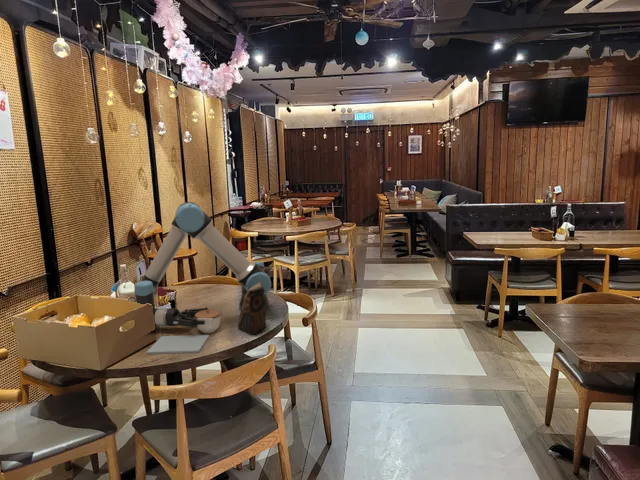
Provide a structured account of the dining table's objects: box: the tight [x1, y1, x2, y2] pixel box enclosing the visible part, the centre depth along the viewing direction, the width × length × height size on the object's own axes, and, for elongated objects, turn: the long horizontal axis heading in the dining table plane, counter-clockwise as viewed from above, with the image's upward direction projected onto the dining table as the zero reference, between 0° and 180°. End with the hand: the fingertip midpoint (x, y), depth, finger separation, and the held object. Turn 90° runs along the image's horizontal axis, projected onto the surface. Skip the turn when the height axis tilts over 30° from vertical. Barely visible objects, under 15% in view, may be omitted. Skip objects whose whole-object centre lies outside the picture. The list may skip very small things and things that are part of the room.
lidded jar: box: [194, 308, 222, 334], centre depth 190 cm, size 11×11×9 cm
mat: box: [146, 334, 210, 355], centre depth 176 cm, size 20×16×1 cm
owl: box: [237, 282, 267, 336], centre depth 187 cm, size 13×13×20 cm
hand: (217, 317), depth 189 cm, fingers closed on lidded jar, 11 cm apart
